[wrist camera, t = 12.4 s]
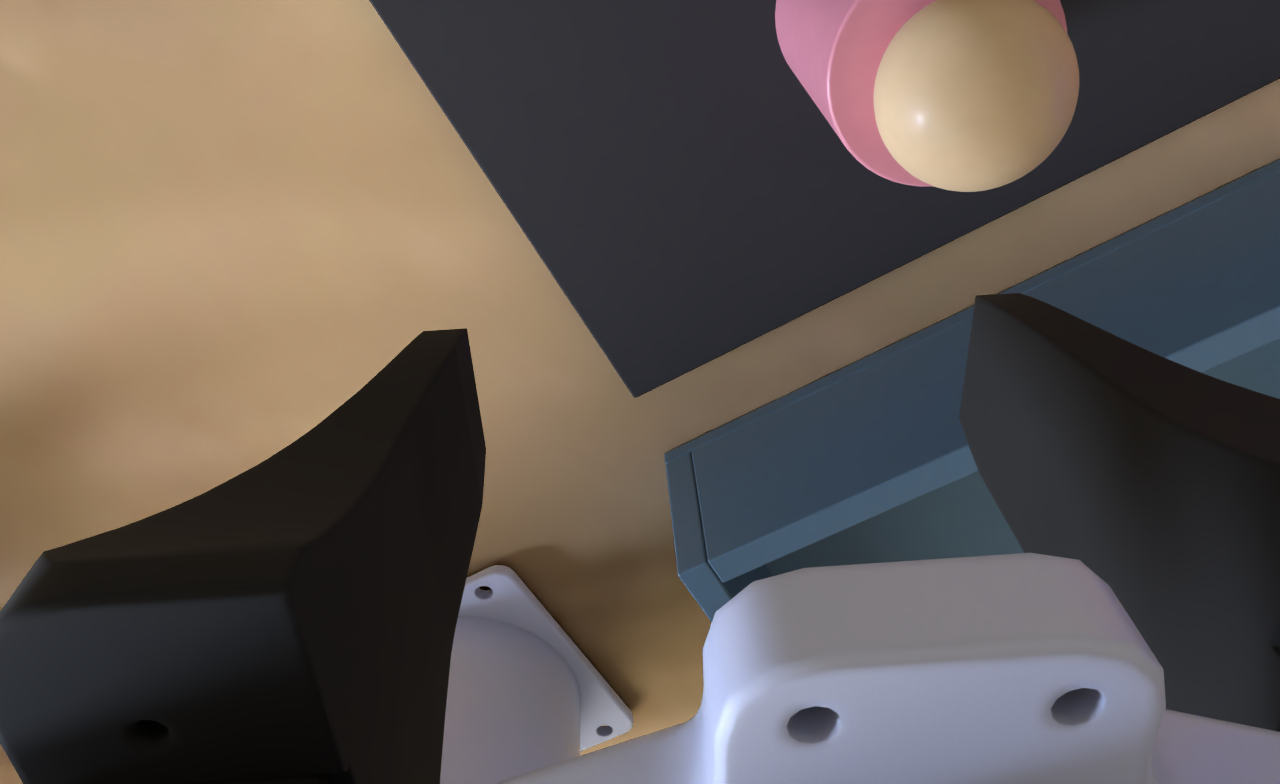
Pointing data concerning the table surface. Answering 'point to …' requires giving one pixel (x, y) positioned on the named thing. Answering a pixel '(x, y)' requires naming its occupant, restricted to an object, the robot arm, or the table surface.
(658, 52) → the mat
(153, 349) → the table surface
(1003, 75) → the doll
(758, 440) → the blue tray
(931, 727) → the robot arm
